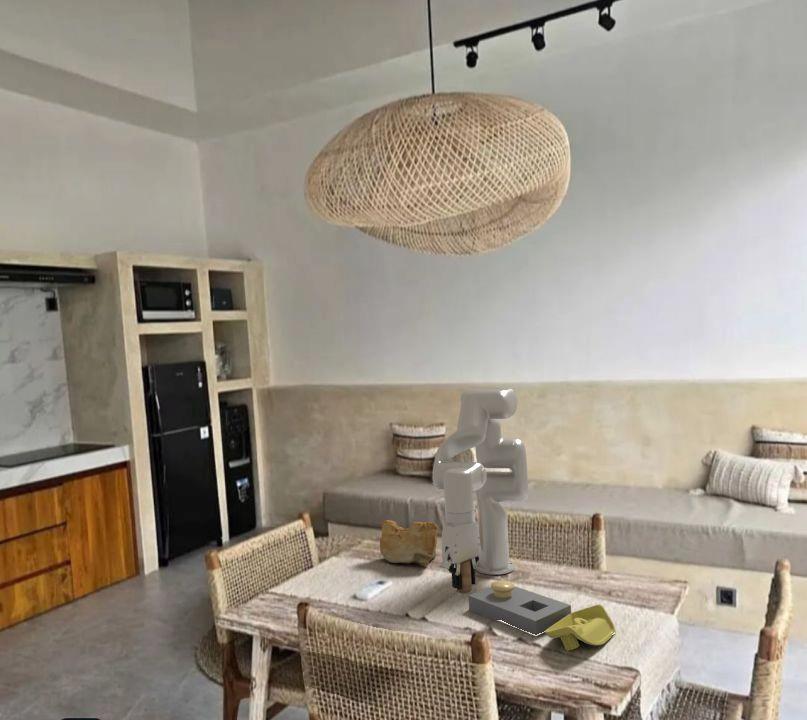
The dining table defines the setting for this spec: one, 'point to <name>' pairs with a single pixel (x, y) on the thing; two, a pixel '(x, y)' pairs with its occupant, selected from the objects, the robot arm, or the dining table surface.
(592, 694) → the dining table surface
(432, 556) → the rough brown rock
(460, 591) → the gear shaft
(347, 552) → the dining table surface
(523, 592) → the grey block with hole
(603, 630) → the plastic component
